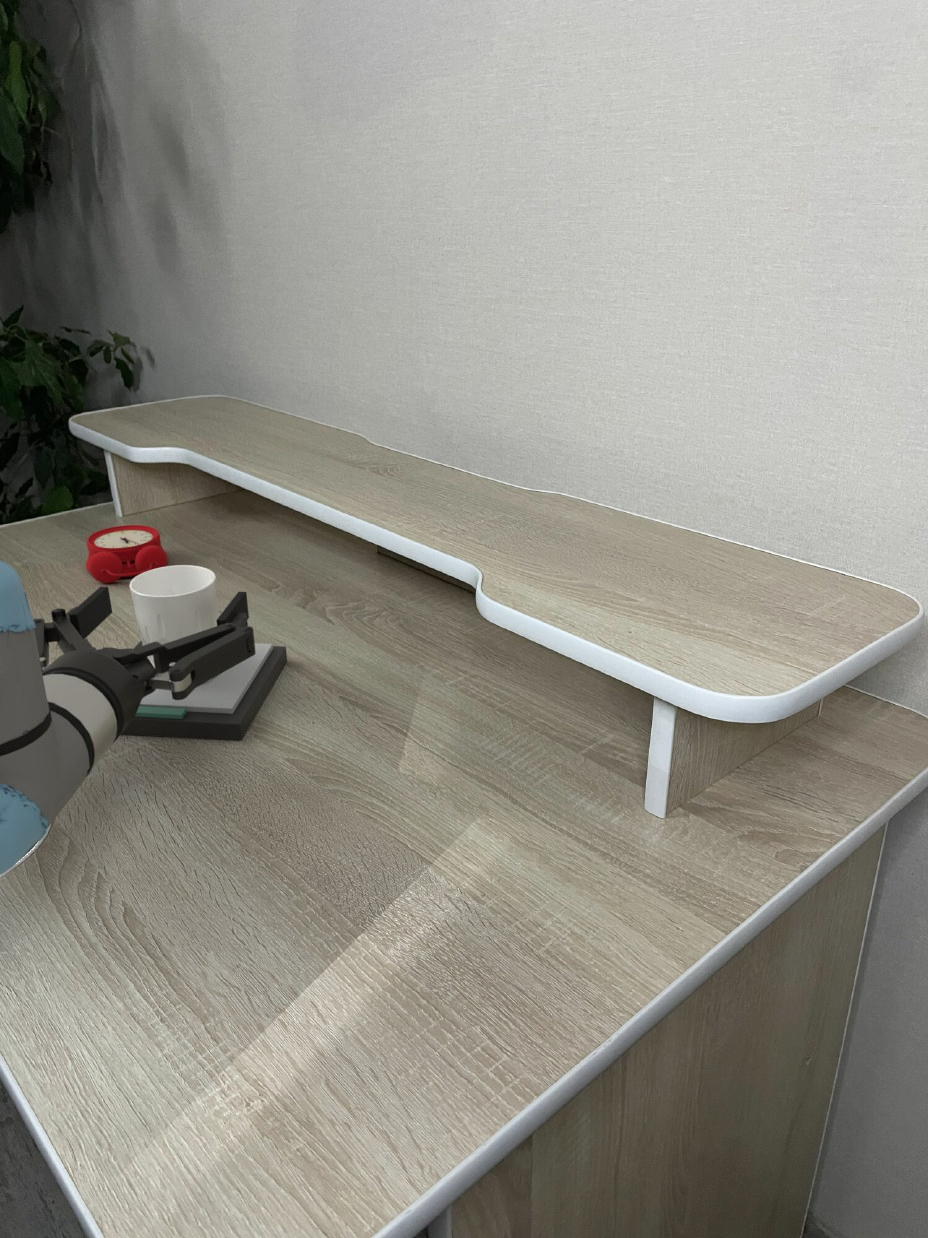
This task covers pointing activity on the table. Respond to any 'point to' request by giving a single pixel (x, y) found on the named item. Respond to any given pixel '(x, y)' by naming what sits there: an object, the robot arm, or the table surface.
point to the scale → (213, 701)
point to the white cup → (174, 603)
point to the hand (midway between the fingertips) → (174, 601)
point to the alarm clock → (124, 552)
